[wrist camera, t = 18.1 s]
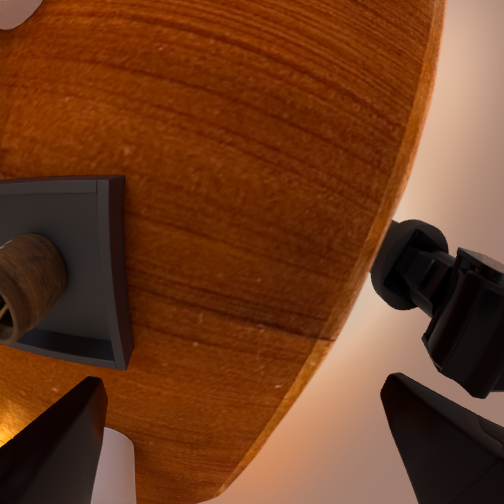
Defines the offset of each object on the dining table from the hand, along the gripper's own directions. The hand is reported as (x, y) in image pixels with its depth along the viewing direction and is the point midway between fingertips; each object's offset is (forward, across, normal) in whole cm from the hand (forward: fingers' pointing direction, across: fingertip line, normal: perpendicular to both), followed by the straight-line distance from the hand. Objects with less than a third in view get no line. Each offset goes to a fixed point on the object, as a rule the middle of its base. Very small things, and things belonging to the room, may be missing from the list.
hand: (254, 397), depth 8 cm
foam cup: (+13, +13, +25) cm, 31 cm away
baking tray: (+13, +15, +2) cm, 20 cm away
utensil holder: (+13, +15, +2) cm, 20 cm away
